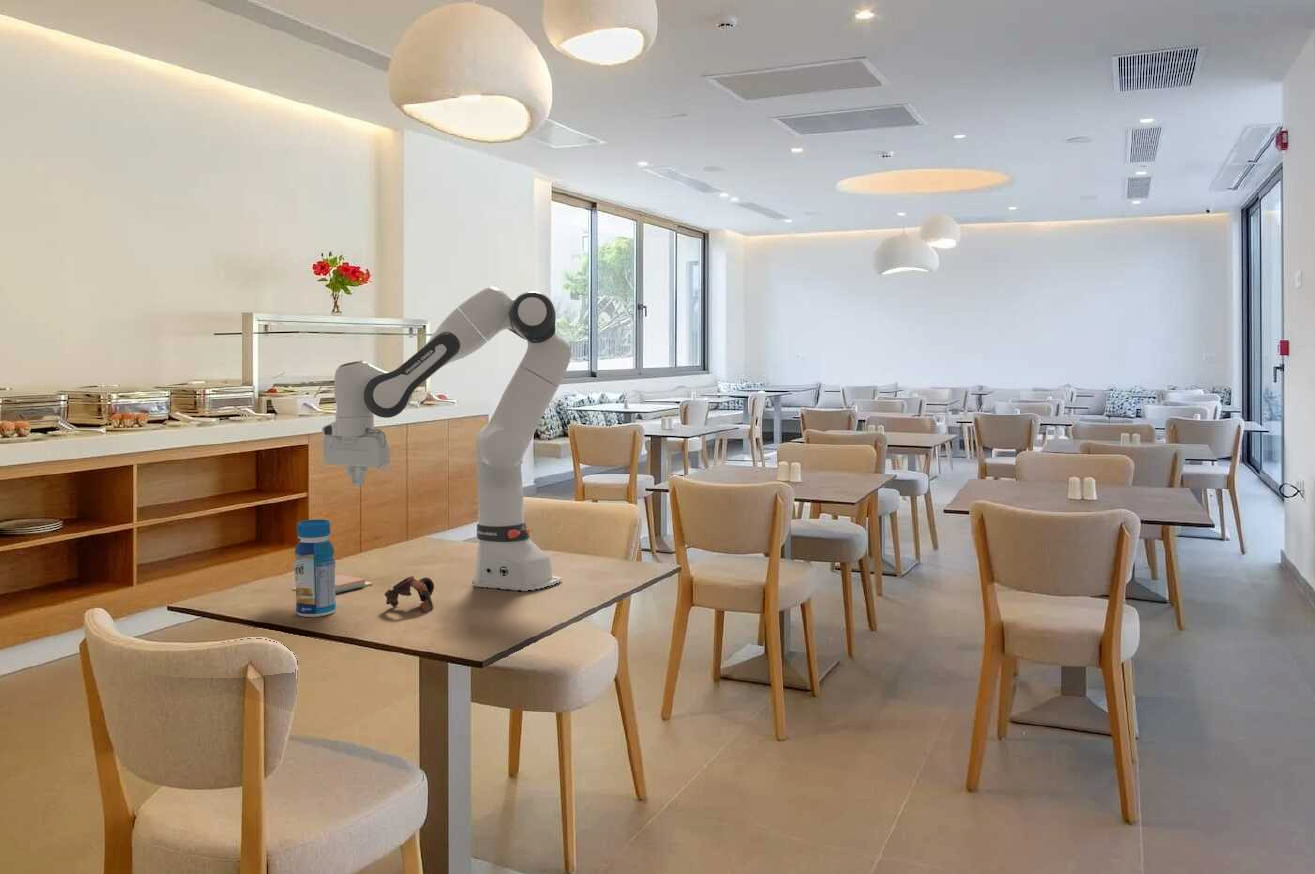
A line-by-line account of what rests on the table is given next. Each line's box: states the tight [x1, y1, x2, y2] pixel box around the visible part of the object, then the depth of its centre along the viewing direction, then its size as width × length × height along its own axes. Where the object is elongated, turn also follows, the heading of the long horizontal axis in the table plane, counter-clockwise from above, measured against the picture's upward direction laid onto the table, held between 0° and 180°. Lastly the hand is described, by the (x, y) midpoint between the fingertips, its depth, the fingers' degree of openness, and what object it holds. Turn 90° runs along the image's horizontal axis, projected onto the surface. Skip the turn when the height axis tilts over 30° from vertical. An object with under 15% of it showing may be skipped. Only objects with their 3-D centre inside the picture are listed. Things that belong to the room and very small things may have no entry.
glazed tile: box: [335, 574, 366, 593], centre depth 237 cm, size 2×8×9 cm
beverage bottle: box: [293, 518, 337, 618], centre depth 213 cm, size 8×8×20 cm
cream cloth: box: [292, 581, 374, 595], centre depth 239 cm, size 12×14×1 cm
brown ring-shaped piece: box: [383, 575, 435, 614], centre depth 218 cm, size 12×10×8 cm
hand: (357, 484), depth 241 cm, fingers closed
